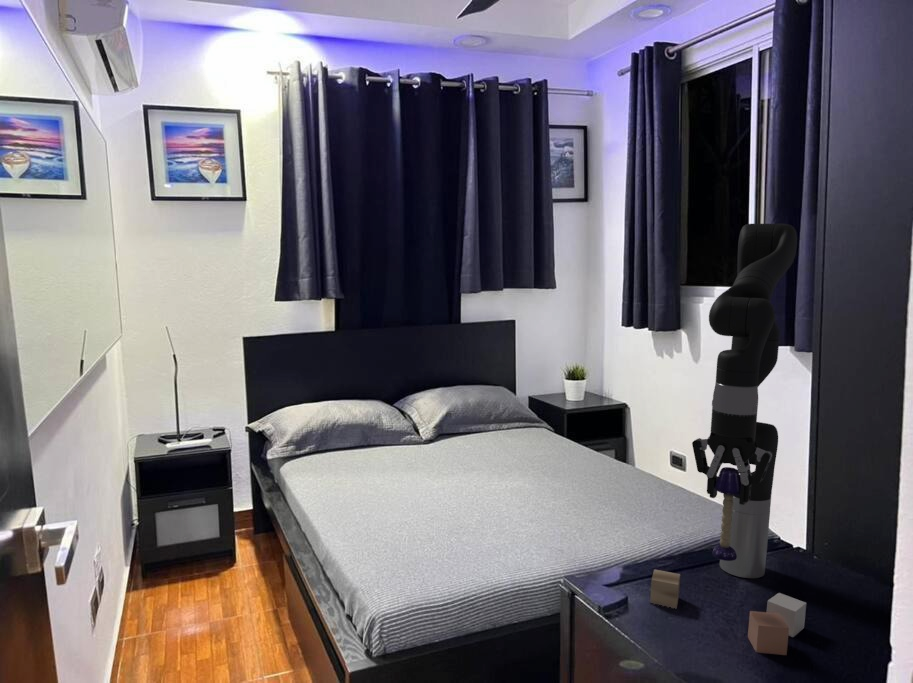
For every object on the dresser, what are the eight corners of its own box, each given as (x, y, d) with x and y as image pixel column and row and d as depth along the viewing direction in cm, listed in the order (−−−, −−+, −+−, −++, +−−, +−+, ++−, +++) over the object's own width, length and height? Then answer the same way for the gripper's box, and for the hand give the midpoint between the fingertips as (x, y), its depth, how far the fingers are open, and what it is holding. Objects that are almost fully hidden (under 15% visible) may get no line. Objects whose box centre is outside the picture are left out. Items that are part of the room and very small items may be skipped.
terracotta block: (747, 637, 123) (749, 610, 122) (776, 639, 122) (779, 613, 122) (756, 652, 118) (758, 625, 118) (786, 655, 117) (789, 628, 117)
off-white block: (776, 617, 130) (778, 592, 130) (804, 628, 127) (806, 602, 126) (765, 626, 127) (767, 600, 126) (793, 637, 123) (795, 611, 123)
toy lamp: (739, 563, 123) (746, 474, 121) (712, 560, 124) (718, 471, 122) (734, 552, 128) (740, 466, 126) (708, 549, 129) (714, 463, 126)
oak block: (652, 592, 139) (654, 569, 138) (678, 597, 137) (680, 574, 136) (649, 603, 134) (651, 579, 134) (676, 609, 132) (678, 584, 132)
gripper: (782, 411, 121) (774, 504, 123) (701, 399, 130) (695, 486, 132) (772, 418, 115) (764, 515, 117) (687, 405, 124) (681, 496, 126)
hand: (727, 499), depth 124 cm, fingers closed on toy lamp, 4 cm apart
